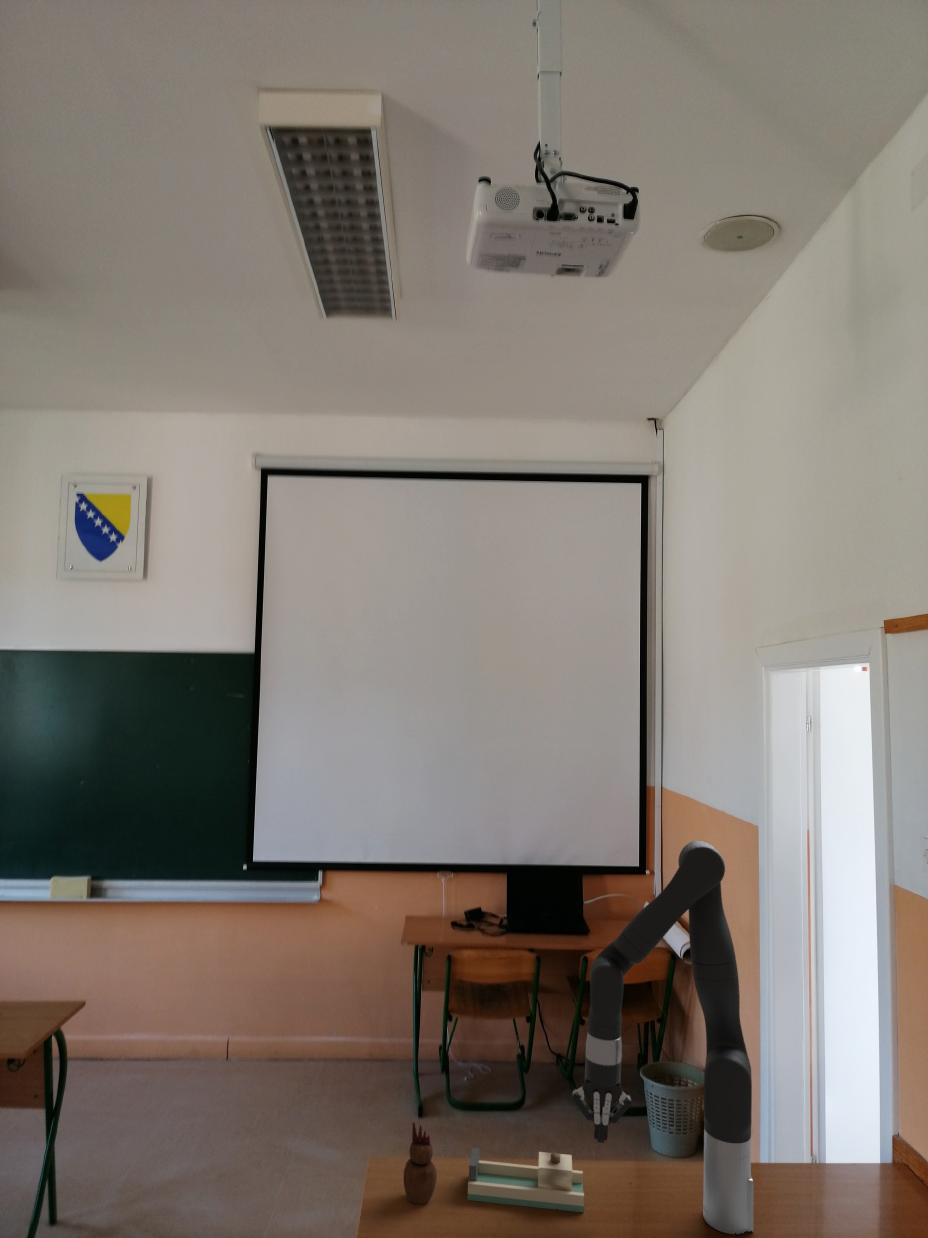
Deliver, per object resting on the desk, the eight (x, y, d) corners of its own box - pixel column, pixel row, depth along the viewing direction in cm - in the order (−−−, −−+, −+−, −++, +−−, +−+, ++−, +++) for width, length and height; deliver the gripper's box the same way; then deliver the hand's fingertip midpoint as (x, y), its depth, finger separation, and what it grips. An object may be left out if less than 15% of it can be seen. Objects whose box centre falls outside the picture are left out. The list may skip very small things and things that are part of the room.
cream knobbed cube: (570, 1182, 176) (571, 1149, 176) (571, 1199, 170) (572, 1165, 170) (538, 1179, 177) (539, 1146, 177) (537, 1195, 171) (538, 1161, 171)
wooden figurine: (397, 1201, 169) (401, 1125, 171) (412, 1187, 174) (415, 1113, 176) (426, 1212, 166) (429, 1134, 168) (440, 1197, 171) (443, 1122, 173)
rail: (582, 1187, 177) (582, 1156, 177) (583, 1212, 168) (584, 1180, 169) (471, 1175, 180) (472, 1145, 180) (467, 1200, 171) (468, 1168, 171)
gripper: (633, 1051, 178) (630, 1135, 176) (572, 1045, 179) (568, 1128, 178) (636, 1067, 170) (633, 1154, 169) (572, 1060, 172) (569, 1147, 170)
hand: (600, 1141), depth 173 cm, fingers closed
